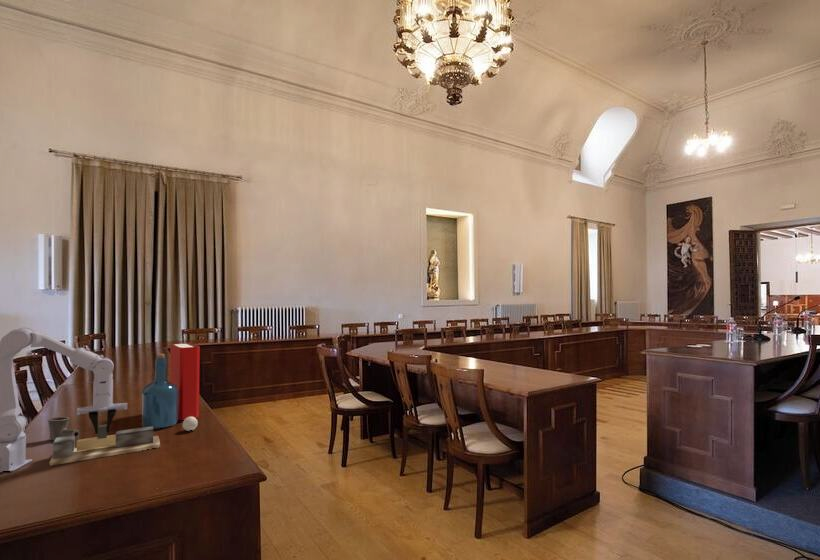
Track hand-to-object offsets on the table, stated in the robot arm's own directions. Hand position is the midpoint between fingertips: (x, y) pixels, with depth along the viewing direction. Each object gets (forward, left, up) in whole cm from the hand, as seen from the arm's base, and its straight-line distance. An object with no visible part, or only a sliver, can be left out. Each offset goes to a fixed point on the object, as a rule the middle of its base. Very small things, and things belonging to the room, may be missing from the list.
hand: (102, 432), depth 155 cm
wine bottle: (+31, -8, -7) cm, 33 cm away
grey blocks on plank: (+1, -2, -7) cm, 7 cm away
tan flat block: (+1, -3, -5) cm, 5 cm away
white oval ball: (+21, -24, -7) cm, 32 cm away
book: (+50, -11, -7) cm, 52 cm away
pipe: (+18, +21, -7) cm, 29 cm away
